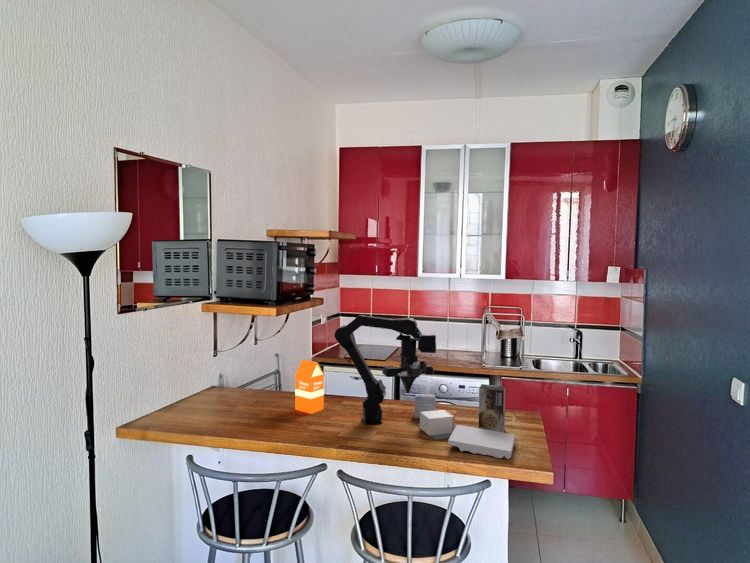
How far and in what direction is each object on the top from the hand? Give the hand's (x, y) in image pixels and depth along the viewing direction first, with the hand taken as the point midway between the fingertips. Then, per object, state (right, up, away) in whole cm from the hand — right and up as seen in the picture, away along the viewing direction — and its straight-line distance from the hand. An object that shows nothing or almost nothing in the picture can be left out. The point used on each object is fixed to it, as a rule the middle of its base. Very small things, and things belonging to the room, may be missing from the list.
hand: (407, 392), depth 193 cm
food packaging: (+24, -14, -21) cm, 34 cm away
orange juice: (-39, -11, +16) cm, 44 cm away
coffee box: (+31, -13, -4) cm, 34 cm away
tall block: (+6, -9, -8) cm, 13 cm away
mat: (+13, -13, -5) cm, 19 cm away
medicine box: (+7, -12, +10) cm, 17 cm away
